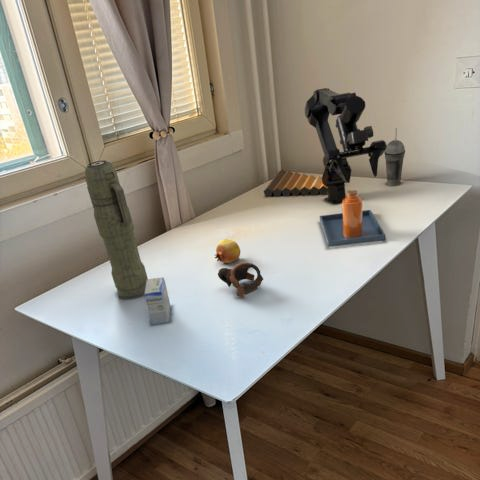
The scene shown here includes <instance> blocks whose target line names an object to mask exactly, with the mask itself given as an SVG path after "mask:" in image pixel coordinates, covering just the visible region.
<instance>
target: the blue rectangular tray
mask: <svg viewBox="0 0 480 480" xmlns="http://www.w3.org/2000/svg"><path fill="white" fill-rule="evenodd" d="M319 222H320V226H321V229H322V231H323V234H324V237H325V240H326V244H327V246H328V248H329V247H337V246H338V247H339V246H345V245H355V244H362V243H363V244H364V243H372V242H380V241H386V238H387V237H386V233H385V231H384V230H383V228H382V226H381V225H380V223H379V222H378V220H377V218H376V217H375V215H374V213H373V212H372V210H371V209H366V210H365V209H364V210H362V235H361V236H360V237H357V238H347V237H344V236H343V212H341V213H333V214H332V213H331V214H324V215H319Z"/></svg>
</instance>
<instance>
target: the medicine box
mask: <svg viewBox="0 0 480 480" xmlns="http://www.w3.org/2000/svg"><path fill="white" fill-rule="evenodd" d="M143 296H144V301H145V305H146V308H147V312H148V316H149V319H150V323H151V325H160V324H166V323H169V322H170V318H171V317H170V316H171V303H170V297H169V293H168V289H167V284H166V280H165V278H164V277H162V276H161V277H154V278H148V280H147V281H146V287H145V292H144V295H143Z"/></svg>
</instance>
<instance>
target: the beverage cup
mask: <svg viewBox="0 0 480 480" xmlns="http://www.w3.org/2000/svg"><path fill="white" fill-rule="evenodd" d="M394 132H395V133H394V139H393V140H391V141H389V142H388V143H386V145H387V148H386V150H385V151H384V153H383V155H384V159H385V170H386V183H387V185H388V186H391V187H392V186H399V185H401V179H402V174H403V173H402V172H403V164H404V158H405V154H406V148H405V145H404V143H403V142H402V141H401V140H399V139H397V137H398V136H397V134H398V128H397V127H395V128H394Z"/></svg>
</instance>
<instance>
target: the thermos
mask: <svg viewBox="0 0 480 480" xmlns="http://www.w3.org/2000/svg"><path fill="white" fill-rule="evenodd" d="M84 169H85V172H84V173H85V174H84V177H85V178H84V179H85V183H86V188H87V191H88V195H89V199H90V201H91V205H92V208H93V218H94V220H95V221H94V222H95V224H96V227H97V231H98V234H99V236H100V237H101V239H102V241H103V244H104V247H105V250H106V253H107V257H108V259H109V264H110V266H111V277H112V281H113V283H114V287H115V289H116V290H117V294H118V296H119V297H120V298H121V299H124V300H126V299H128V300H130V299H131V300H132V299H136V298H139V297H141V296H144V292H145V287H146V281H147V280H148V279H149V278H148V274H147V270H146V267H145V265H144V263H143V262H142V259H141V256H140V252H139V248H138V245H137V240H136V237H135V233H134V228H135V227H134V222H133V218H132V215H131V211H130V208H129V207H128V203H127V200H126V196H125V191H124V188H123V187H122V185H121V183H120V180H119V176H118V173H117V170H116V169H115V167H114V166H113V164H112V162H111V161H108V160H96V161H92V162H90V163H87V165H86V166H85V168H84Z"/></svg>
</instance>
